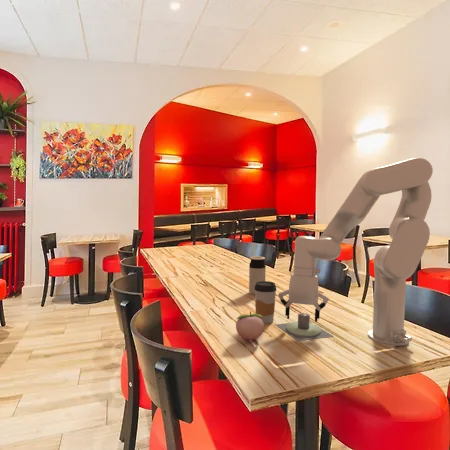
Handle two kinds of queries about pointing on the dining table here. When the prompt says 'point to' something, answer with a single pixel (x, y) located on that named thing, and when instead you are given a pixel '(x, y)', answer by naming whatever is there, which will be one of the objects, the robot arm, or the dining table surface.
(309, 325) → the lid
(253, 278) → the travel mug
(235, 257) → the dining table surface
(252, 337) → the decorative fruit
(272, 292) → the coffee cup
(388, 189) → the robot arm
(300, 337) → the mat
